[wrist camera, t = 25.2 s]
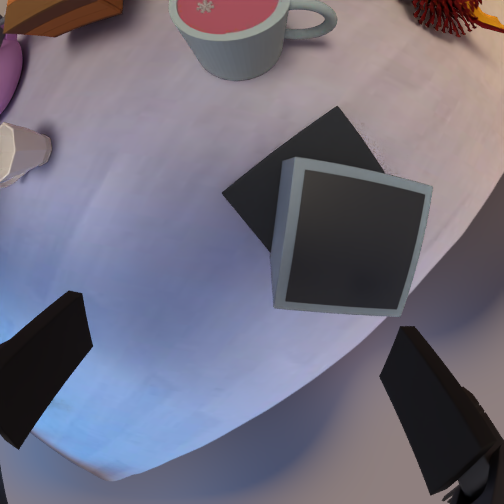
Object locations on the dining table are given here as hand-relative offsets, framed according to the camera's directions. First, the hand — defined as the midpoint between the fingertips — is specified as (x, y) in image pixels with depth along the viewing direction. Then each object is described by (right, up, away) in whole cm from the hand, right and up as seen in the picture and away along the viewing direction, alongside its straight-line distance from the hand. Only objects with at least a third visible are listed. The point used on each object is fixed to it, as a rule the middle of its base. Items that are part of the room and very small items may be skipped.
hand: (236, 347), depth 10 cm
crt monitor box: (+8, +6, +12) cm, 16 cm away
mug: (+2, +26, +13) cm, 29 cm away
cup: (-28, +16, +17) cm, 37 cm away
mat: (+8, +8, +18) cm, 21 cm away
